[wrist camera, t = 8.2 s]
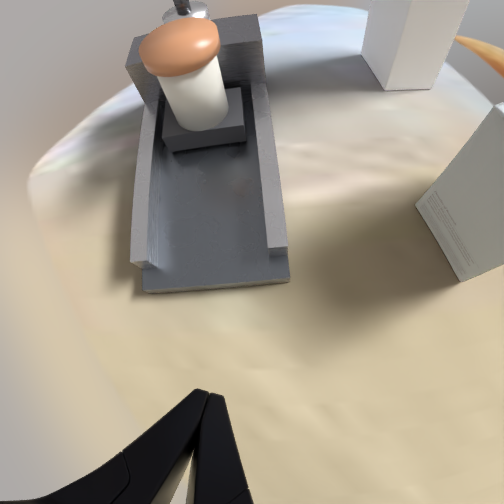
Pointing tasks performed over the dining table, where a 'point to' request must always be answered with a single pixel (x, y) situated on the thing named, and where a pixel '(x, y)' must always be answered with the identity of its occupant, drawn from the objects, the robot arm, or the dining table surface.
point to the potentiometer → (186, 11)
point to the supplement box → (471, 202)
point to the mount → (210, 185)
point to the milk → (410, 40)
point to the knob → (193, 85)
